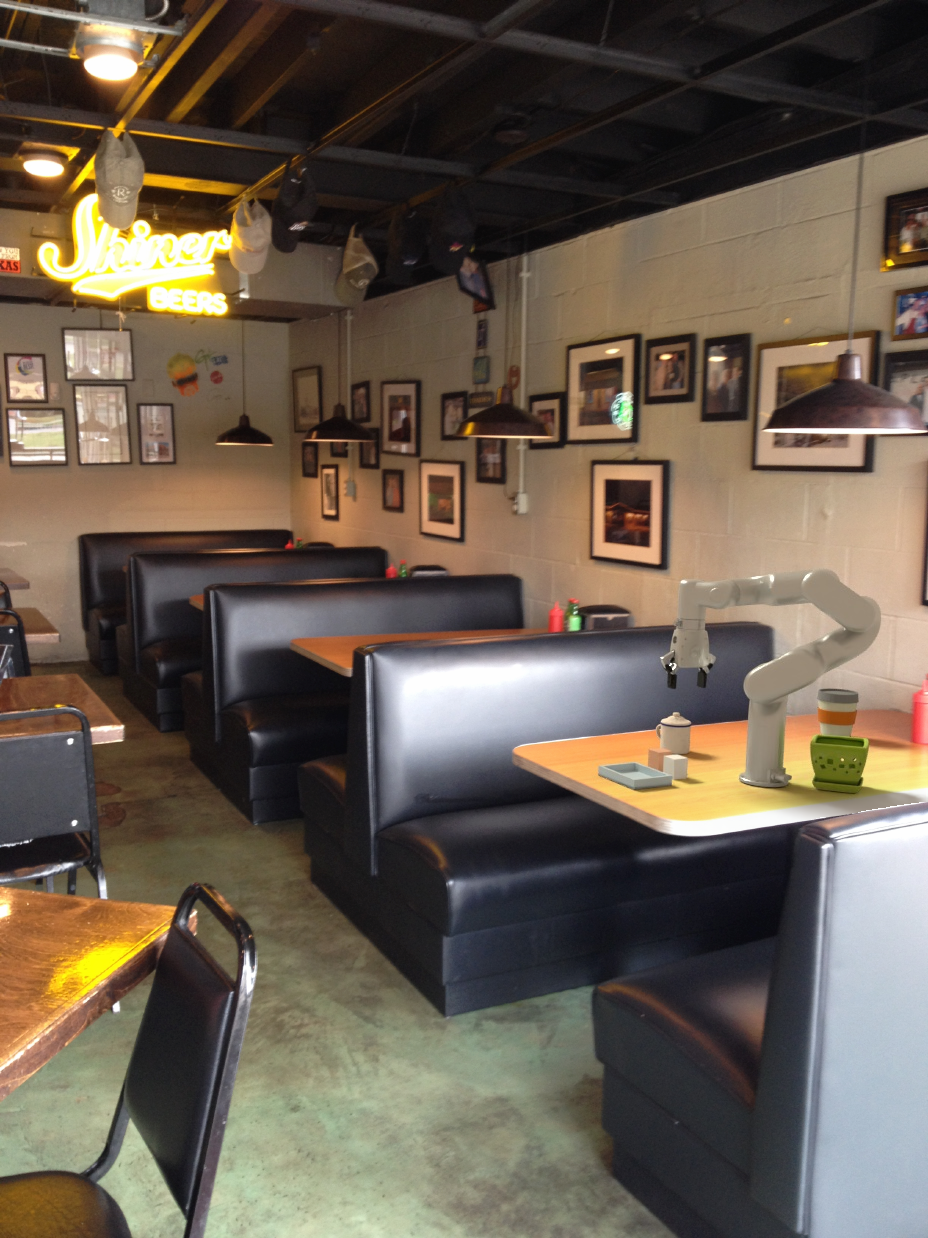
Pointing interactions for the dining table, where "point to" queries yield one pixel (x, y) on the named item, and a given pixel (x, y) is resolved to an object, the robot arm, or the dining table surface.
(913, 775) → the dining table surface
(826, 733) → the reusable coffee cup
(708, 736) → the dining table surface
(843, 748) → the flower pot
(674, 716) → the teacup with lid
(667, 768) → the white block
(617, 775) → the tray
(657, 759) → the terracotta block
